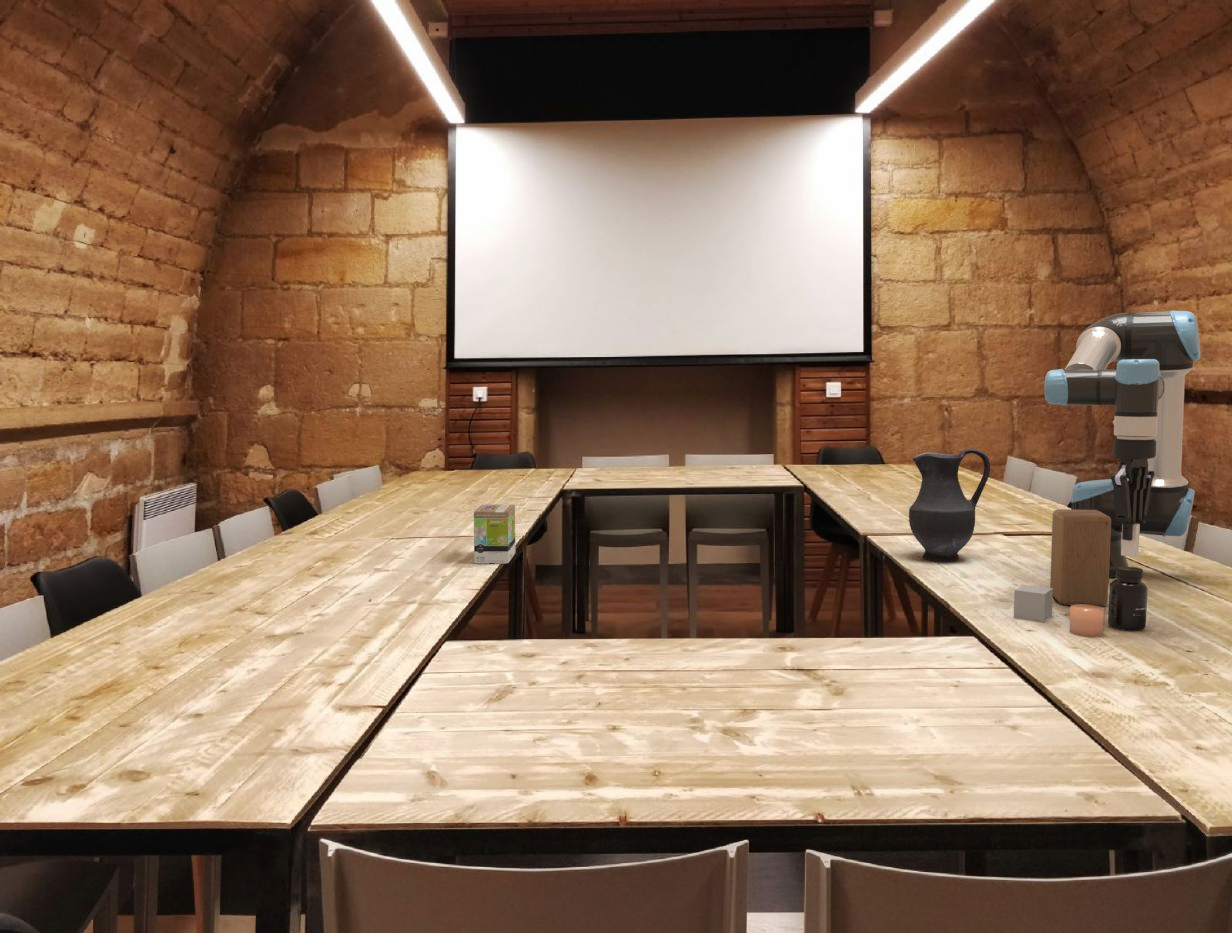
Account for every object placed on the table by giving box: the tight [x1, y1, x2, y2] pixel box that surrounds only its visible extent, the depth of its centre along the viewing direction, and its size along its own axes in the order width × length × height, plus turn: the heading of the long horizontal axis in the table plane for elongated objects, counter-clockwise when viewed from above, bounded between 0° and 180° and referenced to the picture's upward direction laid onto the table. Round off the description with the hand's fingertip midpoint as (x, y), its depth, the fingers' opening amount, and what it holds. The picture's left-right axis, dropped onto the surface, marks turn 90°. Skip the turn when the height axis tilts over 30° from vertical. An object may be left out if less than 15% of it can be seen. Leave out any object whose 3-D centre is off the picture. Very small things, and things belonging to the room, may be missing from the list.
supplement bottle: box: [1107, 565, 1149, 632], centre depth 193 cm, size 7×7×12 cm
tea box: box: [473, 504, 516, 565], centre depth 271 cm, size 15×10×15 cm
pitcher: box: [908, 448, 991, 563], centre depth 261 cm, size 17×21×30 cm
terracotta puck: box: [1069, 604, 1105, 638], centre depth 190 cm, size 6×6×5 cm
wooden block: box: [1049, 508, 1111, 607], centre depth 214 cm, size 10×10×20 cm
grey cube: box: [1013, 584, 1054, 623], centre depth 202 cm, size 6×6×6 cm
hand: (1129, 555), depth 192 cm, fingers closed
